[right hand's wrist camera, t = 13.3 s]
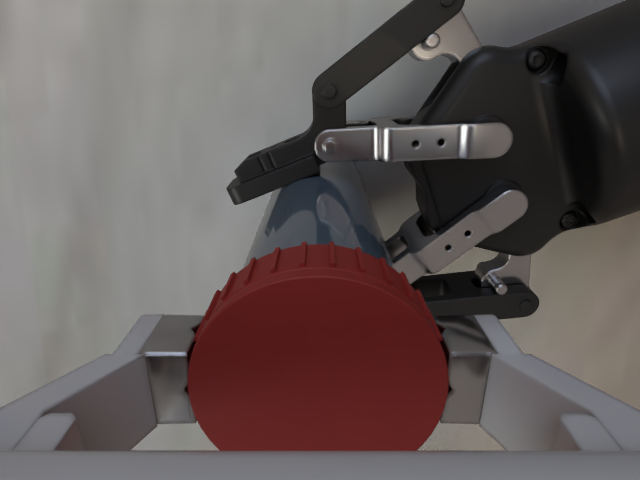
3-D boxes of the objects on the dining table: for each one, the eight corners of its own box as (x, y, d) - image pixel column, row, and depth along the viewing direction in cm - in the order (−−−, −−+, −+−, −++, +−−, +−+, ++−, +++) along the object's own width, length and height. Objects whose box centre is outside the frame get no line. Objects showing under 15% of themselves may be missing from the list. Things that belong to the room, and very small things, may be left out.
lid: (276, 461, 11) (270, 519, 10) (156, 305, 10) (127, 347, 8) (467, 384, 11) (491, 435, 9) (372, 195, 9) (382, 221, 7)
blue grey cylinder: (261, 190, 24) (168, 381, 9) (315, 126, 23) (306, 230, 8) (323, 241, 25) (327, 483, 10) (378, 182, 24) (471, 365, 9)
